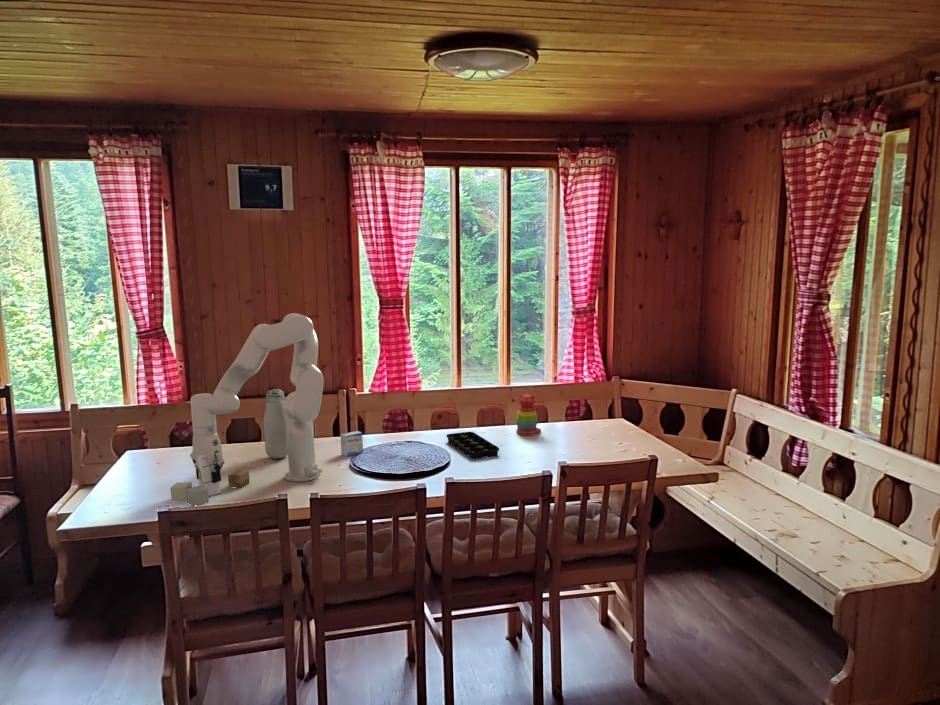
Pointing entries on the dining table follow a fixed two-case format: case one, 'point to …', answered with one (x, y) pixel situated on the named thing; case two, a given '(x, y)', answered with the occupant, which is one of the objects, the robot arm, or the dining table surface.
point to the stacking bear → (527, 417)
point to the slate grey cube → (197, 495)
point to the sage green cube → (180, 491)
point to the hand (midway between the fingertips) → (208, 479)
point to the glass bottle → (275, 425)
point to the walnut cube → (238, 478)
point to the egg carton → (473, 445)
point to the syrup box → (207, 476)
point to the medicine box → (351, 443)
